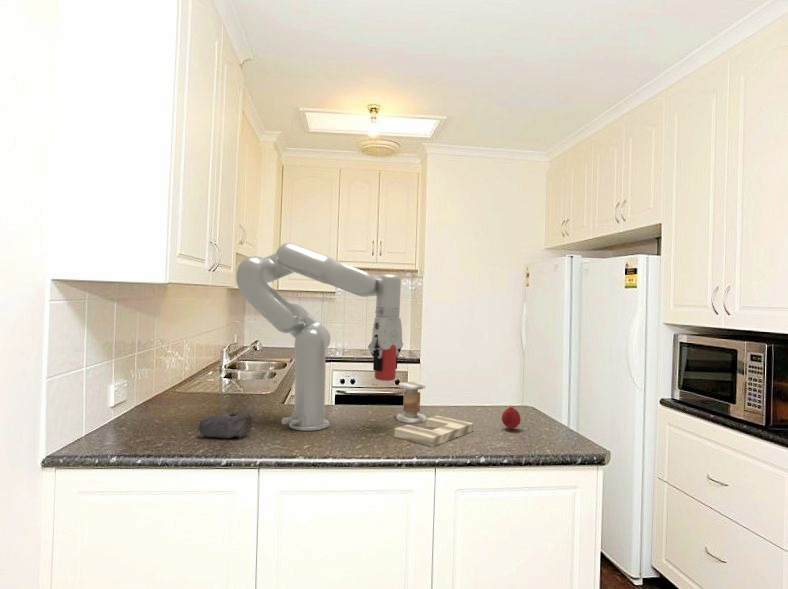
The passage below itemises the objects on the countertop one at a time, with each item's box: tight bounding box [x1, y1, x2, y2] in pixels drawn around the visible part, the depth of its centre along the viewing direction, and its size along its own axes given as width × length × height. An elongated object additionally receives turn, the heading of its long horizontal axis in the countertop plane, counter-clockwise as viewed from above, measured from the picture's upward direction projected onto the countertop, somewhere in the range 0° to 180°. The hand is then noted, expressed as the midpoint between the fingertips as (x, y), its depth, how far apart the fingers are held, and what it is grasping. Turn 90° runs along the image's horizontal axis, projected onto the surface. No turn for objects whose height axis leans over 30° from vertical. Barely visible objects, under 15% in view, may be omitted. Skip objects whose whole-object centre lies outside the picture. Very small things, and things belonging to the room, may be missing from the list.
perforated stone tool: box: [197, 412, 253, 439], centre depth 139 cm, size 15×5×7 cm, turn 91°
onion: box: [501, 404, 521, 431], centre depth 155 cm, size 6×6×8 cm
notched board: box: [394, 415, 474, 448], centre depth 148 cm, size 22×14×2 cm, turn 140°
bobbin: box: [396, 381, 427, 424], centre depth 165 cm, size 10×10×12 cm
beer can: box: [374, 342, 397, 382], centre depth 153 cm, size 7×7×12 cm
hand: (385, 369), depth 153 cm, fingers closed on beer can, 6 cm apart
